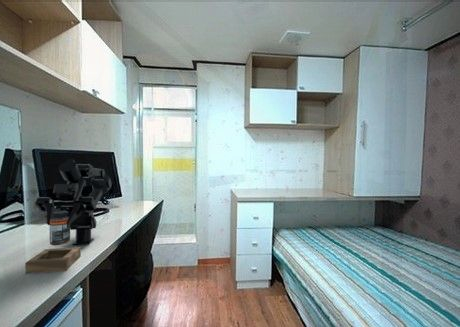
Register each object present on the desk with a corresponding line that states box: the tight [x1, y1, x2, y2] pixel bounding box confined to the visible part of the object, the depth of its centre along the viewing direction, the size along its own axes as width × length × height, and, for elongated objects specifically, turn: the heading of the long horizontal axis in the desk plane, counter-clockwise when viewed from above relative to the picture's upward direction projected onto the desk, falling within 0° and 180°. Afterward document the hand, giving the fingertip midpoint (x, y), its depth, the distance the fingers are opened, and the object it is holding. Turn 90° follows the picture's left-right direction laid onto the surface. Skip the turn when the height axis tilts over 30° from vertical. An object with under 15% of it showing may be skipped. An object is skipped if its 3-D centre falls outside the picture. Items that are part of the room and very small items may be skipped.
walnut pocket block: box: [24, 246, 82, 275], centre depth 79 cm, size 11×11×4 cm
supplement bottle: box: [49, 210, 71, 247], centre depth 82 cm, size 6×6×11 cm
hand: (58, 224), depth 81 cm, fingers closed on supplement bottle, 6 cm apart
